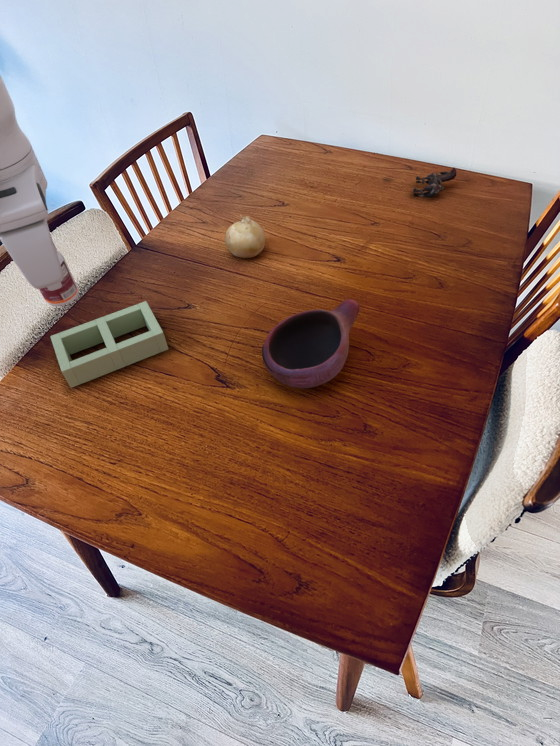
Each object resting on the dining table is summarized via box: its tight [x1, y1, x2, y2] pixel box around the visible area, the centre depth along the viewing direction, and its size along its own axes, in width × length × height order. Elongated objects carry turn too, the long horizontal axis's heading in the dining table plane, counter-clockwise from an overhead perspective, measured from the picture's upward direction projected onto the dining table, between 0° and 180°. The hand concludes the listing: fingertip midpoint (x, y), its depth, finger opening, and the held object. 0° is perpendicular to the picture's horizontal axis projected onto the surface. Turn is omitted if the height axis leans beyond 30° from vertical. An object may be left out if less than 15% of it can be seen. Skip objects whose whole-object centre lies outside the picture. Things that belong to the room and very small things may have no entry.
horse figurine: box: [386, 167, 457, 198], centre depth 113 cm, size 9×4×15 cm
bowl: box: [261, 298, 360, 389], centre depth 80 cm, size 16×13×8 cm
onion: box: [224, 214, 267, 259], centre depth 101 cm, size 8×8×7 cm
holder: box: [50, 300, 169, 389], centre depth 86 cm, size 16×9×4 cm, turn 118°
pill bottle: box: [38, 241, 80, 307], centre depth 70 cm, size 5×5×8 cm
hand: (51, 274), depth 71 cm, fingers closed on pill bottle, 5 cm apart
